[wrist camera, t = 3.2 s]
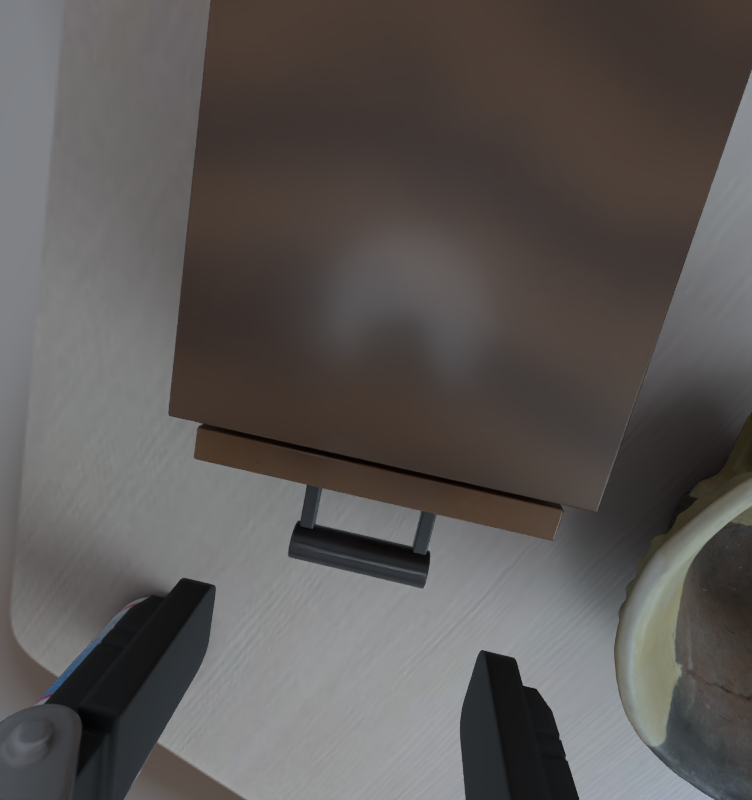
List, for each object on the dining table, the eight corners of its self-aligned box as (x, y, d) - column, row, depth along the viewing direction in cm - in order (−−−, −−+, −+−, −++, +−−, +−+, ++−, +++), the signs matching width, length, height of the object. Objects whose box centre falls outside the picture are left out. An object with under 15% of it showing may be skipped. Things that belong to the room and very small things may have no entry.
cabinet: (524, 419, 25) (598, 513, 15) (269, 363, 26) (166, 416, 15) (629, 59, 21) (833, -159, 11) (324, 2, 22) (235, -262, 11)
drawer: (481, 543, 26) (511, 671, 18) (255, 491, 27) (177, 590, 18) (603, 122, 21) (730, 8, 12) (322, 67, 22) (256, -79, 13)
